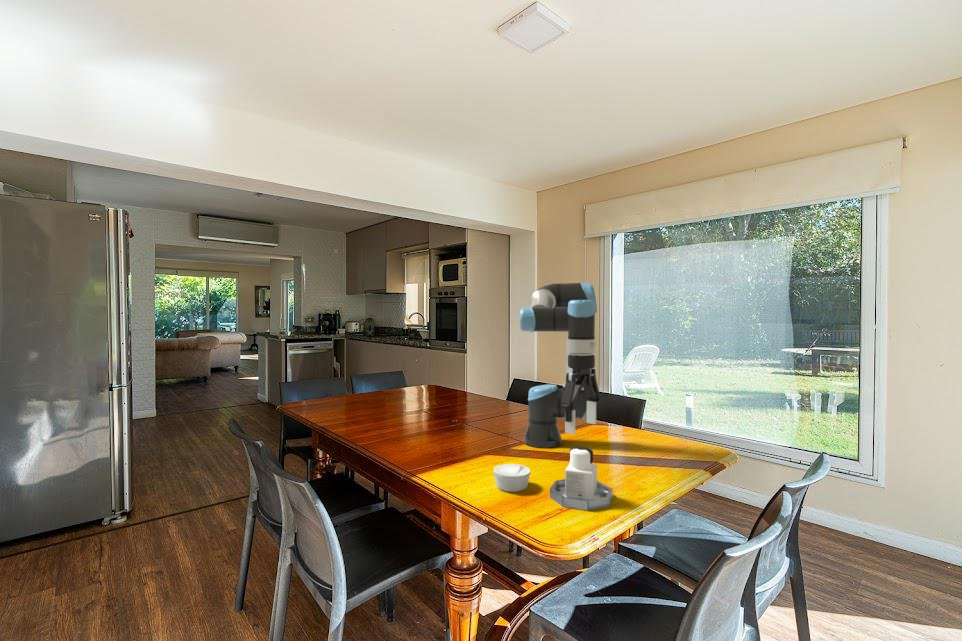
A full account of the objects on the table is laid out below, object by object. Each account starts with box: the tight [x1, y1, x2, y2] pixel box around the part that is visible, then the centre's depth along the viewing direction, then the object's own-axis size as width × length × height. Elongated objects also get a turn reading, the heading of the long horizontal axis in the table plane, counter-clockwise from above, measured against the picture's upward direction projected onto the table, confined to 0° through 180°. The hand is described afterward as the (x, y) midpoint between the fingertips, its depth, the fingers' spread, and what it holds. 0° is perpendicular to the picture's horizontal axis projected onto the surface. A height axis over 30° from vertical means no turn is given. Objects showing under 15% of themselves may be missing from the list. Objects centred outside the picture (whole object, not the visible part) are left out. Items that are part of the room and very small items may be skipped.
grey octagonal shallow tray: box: [549, 478, 614, 511], centre depth 130 cm, size 17×17×2 cm
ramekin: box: [493, 463, 531, 493], centre depth 138 cm, size 11×11×5 cm
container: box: [564, 446, 598, 500], centre depth 130 cm, size 8×8×13 cm
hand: (581, 428), depth 130 cm, fingers open, 13 cm apart
